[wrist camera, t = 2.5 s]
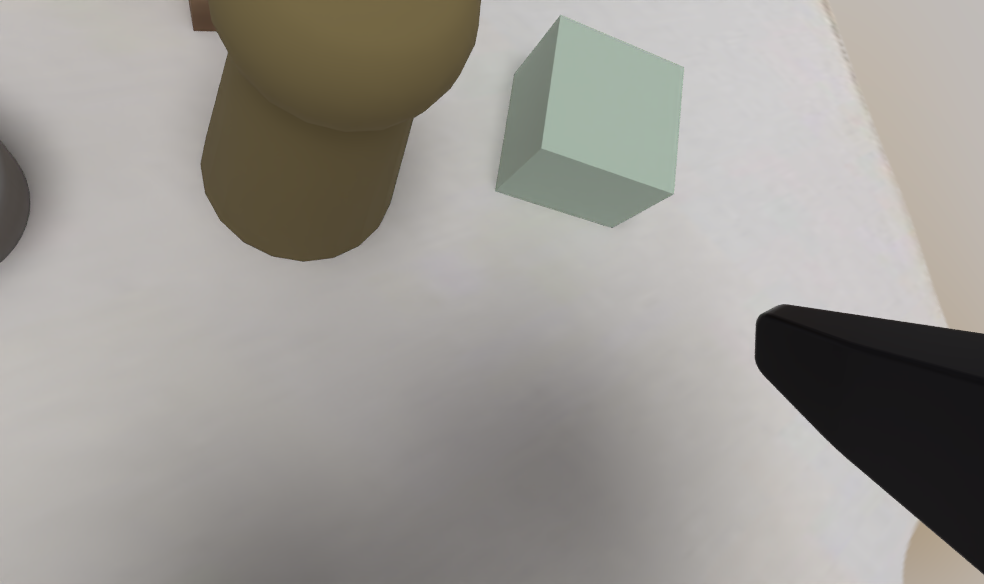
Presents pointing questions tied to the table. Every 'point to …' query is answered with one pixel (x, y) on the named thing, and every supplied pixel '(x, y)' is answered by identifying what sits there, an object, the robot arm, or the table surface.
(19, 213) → the grey short cylinder
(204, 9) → the walnut block
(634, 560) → the table surface
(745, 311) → the table surface
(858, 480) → the table surface
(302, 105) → the olive pawn
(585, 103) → the sage block
